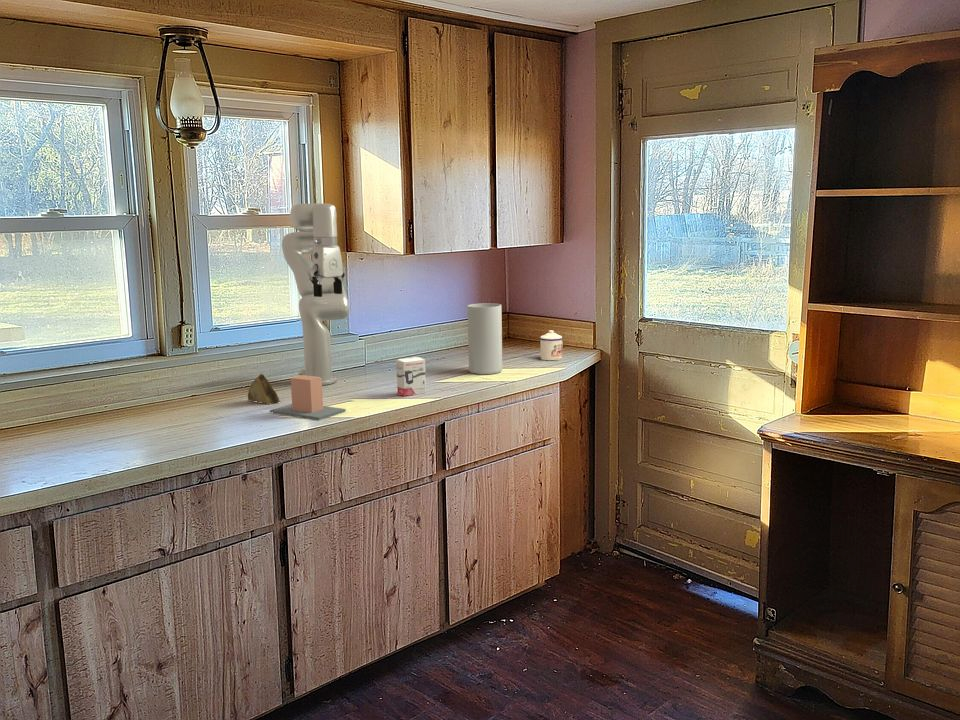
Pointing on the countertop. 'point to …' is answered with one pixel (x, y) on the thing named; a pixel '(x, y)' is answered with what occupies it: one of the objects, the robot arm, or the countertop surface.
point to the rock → (262, 391)
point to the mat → (314, 415)
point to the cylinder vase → (485, 338)
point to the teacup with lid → (551, 346)
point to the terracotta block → (306, 393)
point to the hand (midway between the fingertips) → (328, 295)
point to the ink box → (411, 376)
